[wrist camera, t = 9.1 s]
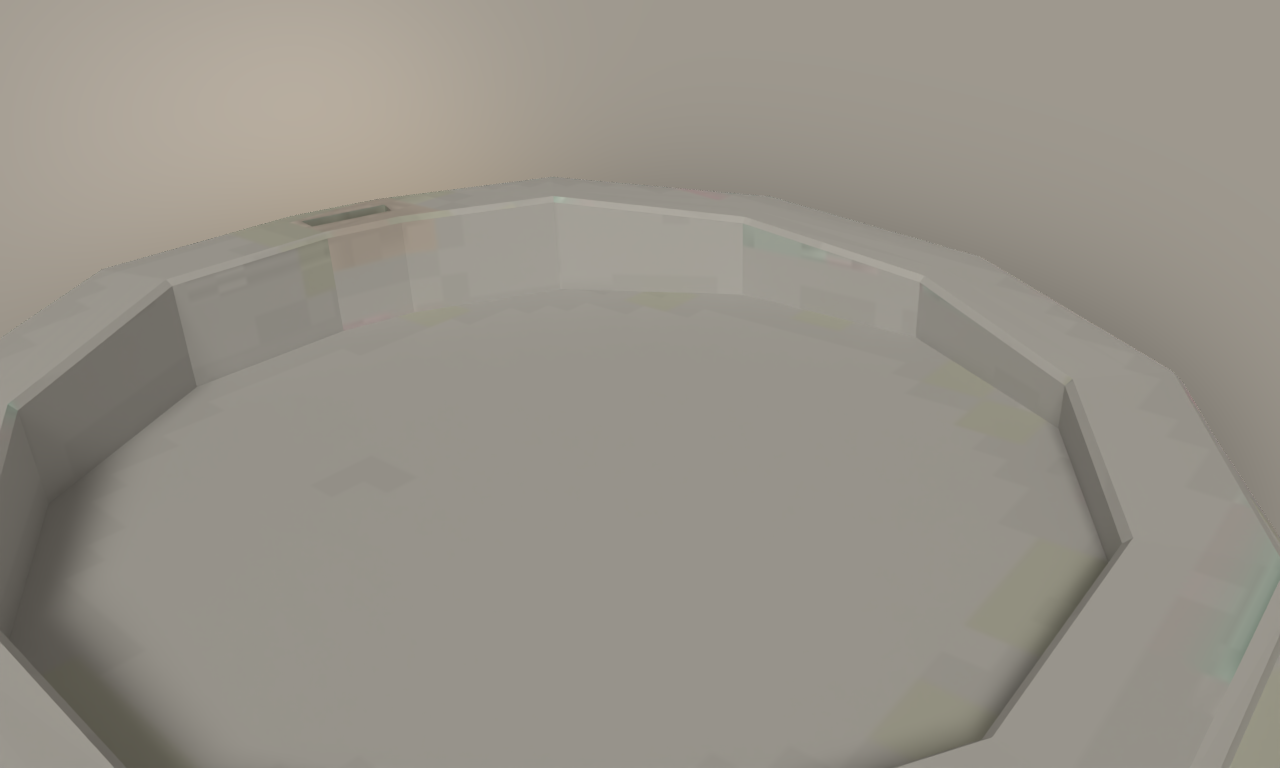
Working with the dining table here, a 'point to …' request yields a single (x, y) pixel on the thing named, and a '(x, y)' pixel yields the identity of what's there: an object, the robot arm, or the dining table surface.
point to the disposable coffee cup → (613, 504)
